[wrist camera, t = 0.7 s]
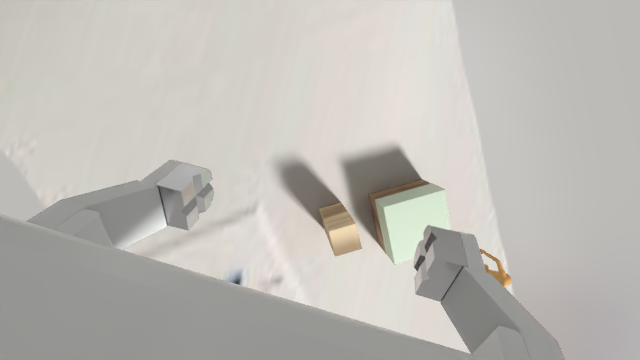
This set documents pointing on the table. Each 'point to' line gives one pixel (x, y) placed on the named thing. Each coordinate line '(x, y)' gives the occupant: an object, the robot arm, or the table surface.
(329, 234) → the oak post
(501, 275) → the figurine
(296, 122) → the table surface
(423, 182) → the tower base
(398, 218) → the pale green square slab
